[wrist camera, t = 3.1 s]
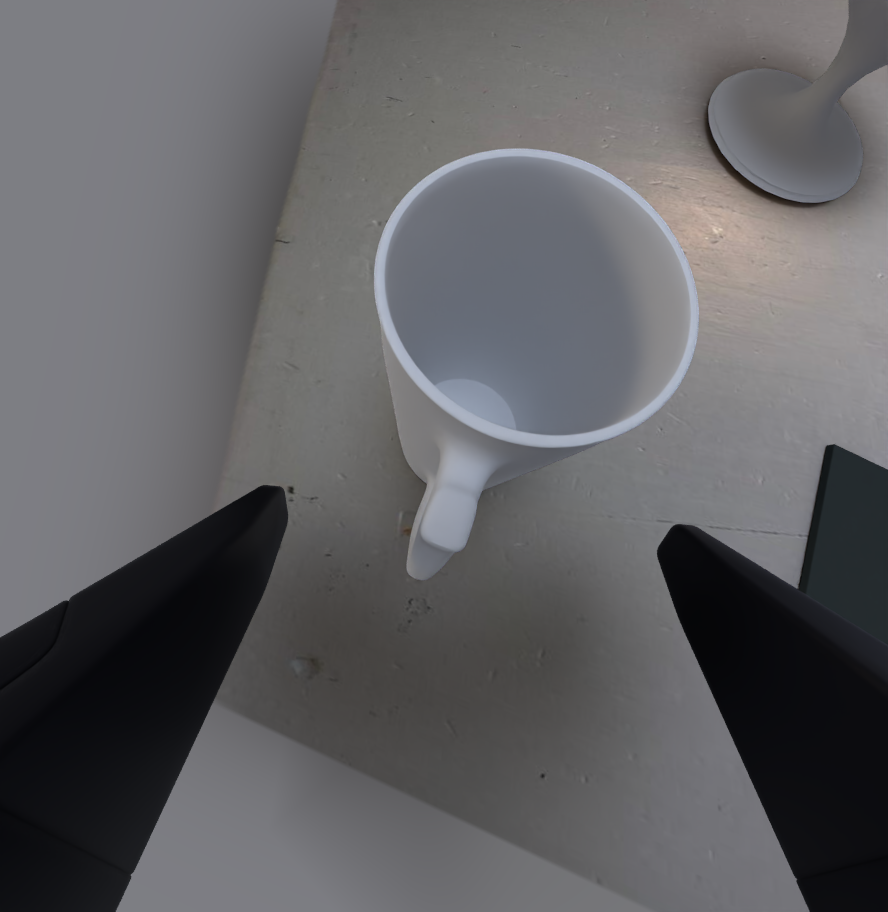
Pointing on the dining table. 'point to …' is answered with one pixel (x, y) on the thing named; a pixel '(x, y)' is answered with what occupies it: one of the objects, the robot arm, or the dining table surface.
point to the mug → (522, 325)
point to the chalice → (801, 117)
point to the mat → (850, 542)
